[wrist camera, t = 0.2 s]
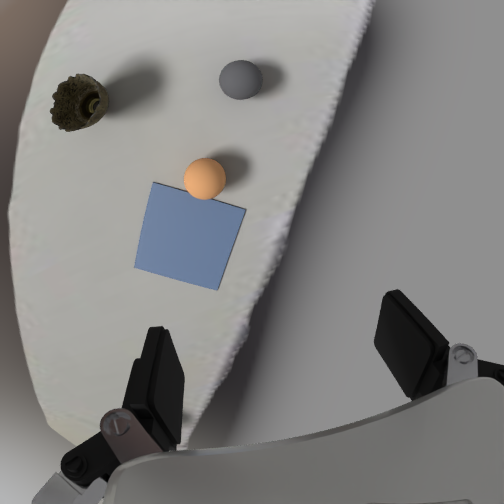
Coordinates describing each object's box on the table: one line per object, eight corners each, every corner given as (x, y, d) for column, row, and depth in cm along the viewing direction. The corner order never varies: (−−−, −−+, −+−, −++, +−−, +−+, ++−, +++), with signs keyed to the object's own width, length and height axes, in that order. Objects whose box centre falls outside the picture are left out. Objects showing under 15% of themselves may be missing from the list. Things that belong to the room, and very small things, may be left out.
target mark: (153, 182, 37) (152, 182, 37) (245, 209, 40) (245, 210, 40) (134, 266, 42) (134, 267, 42) (217, 289, 45) (217, 290, 45)
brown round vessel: (115, 132, 33) (92, 132, 26) (73, 129, 32) (45, 131, 25) (125, 83, 31) (104, 72, 23) (82, 82, 29) (56, 75, 22)
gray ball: (234, 59, 31) (237, 47, 26) (267, 80, 33) (274, 71, 28) (211, 88, 33) (209, 80, 28) (243, 109, 35) (247, 104, 30)
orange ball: (200, 149, 36) (197, 151, 31) (233, 170, 38) (235, 176, 33) (179, 181, 38) (172, 188, 33) (211, 202, 39) (210, 212, 34)
